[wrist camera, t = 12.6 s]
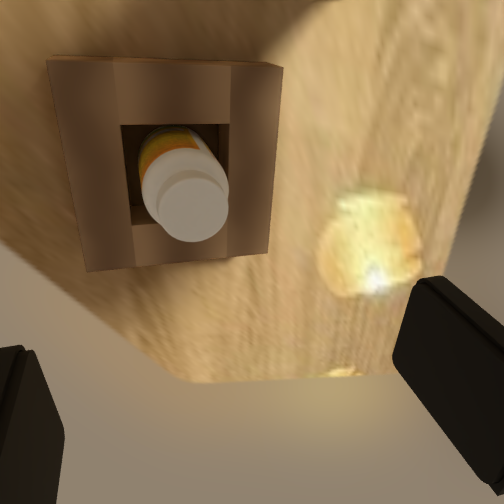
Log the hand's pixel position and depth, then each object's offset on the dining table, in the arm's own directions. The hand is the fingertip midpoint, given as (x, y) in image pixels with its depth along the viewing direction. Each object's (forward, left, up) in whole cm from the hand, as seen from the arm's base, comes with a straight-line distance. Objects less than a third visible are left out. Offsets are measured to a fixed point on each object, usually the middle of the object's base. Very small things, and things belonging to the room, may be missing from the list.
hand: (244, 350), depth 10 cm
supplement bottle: (-1, +2, -23) cm, 23 cm away
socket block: (-1, +2, -23) cm, 23 cm away
